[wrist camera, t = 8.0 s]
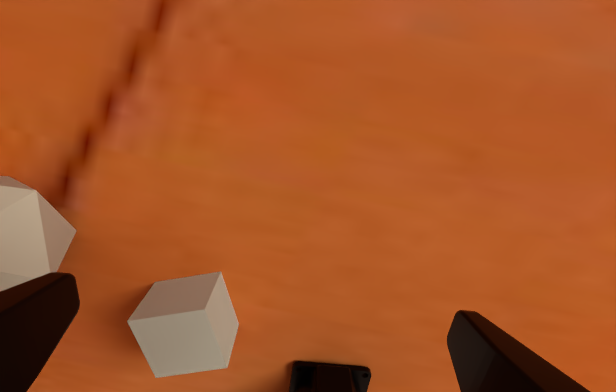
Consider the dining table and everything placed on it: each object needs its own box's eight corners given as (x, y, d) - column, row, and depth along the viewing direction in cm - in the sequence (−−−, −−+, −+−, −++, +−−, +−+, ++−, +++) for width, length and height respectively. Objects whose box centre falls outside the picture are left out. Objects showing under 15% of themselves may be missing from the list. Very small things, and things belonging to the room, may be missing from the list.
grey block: (239, 322, 24) (227, 367, 21) (178, 332, 25) (155, 377, 21) (221, 270, 23) (204, 309, 19) (155, 280, 23) (126, 321, 19)
